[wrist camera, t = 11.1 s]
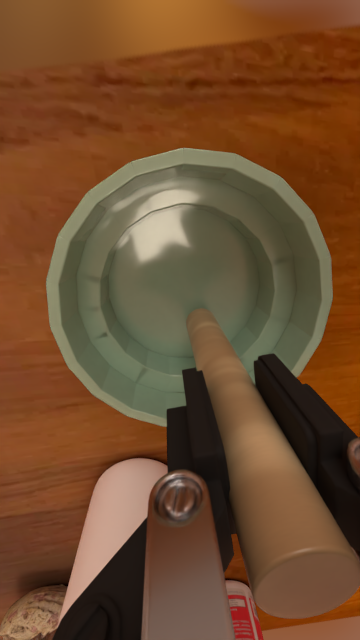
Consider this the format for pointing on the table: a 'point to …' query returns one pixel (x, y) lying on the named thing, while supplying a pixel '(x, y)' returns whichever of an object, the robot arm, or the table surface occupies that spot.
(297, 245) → the bowl
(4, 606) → the table surface
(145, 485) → the mug
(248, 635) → the pill bottle
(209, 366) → the stick
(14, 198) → the table surface
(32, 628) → the seashell
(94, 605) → the robot arm
